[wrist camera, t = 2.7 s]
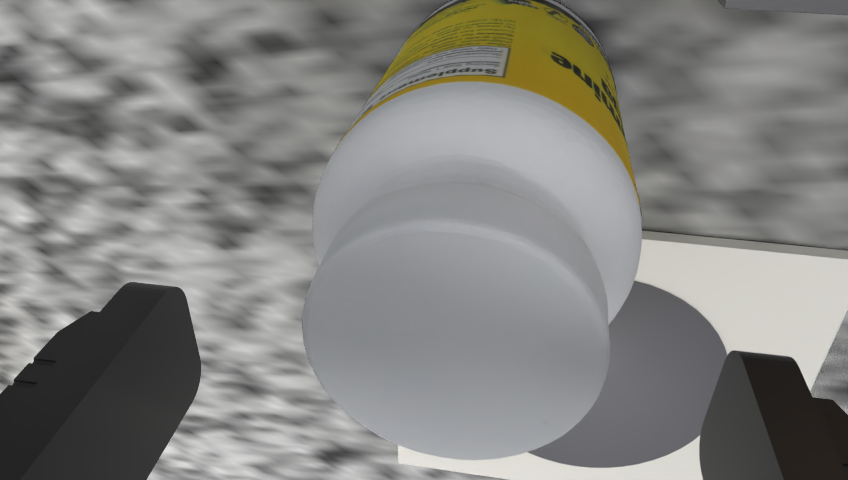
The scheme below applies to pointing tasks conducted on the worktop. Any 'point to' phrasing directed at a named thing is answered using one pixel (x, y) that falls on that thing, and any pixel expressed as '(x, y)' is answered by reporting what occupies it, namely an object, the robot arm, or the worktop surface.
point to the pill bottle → (476, 235)
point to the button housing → (790, 6)
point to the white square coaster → (684, 354)
